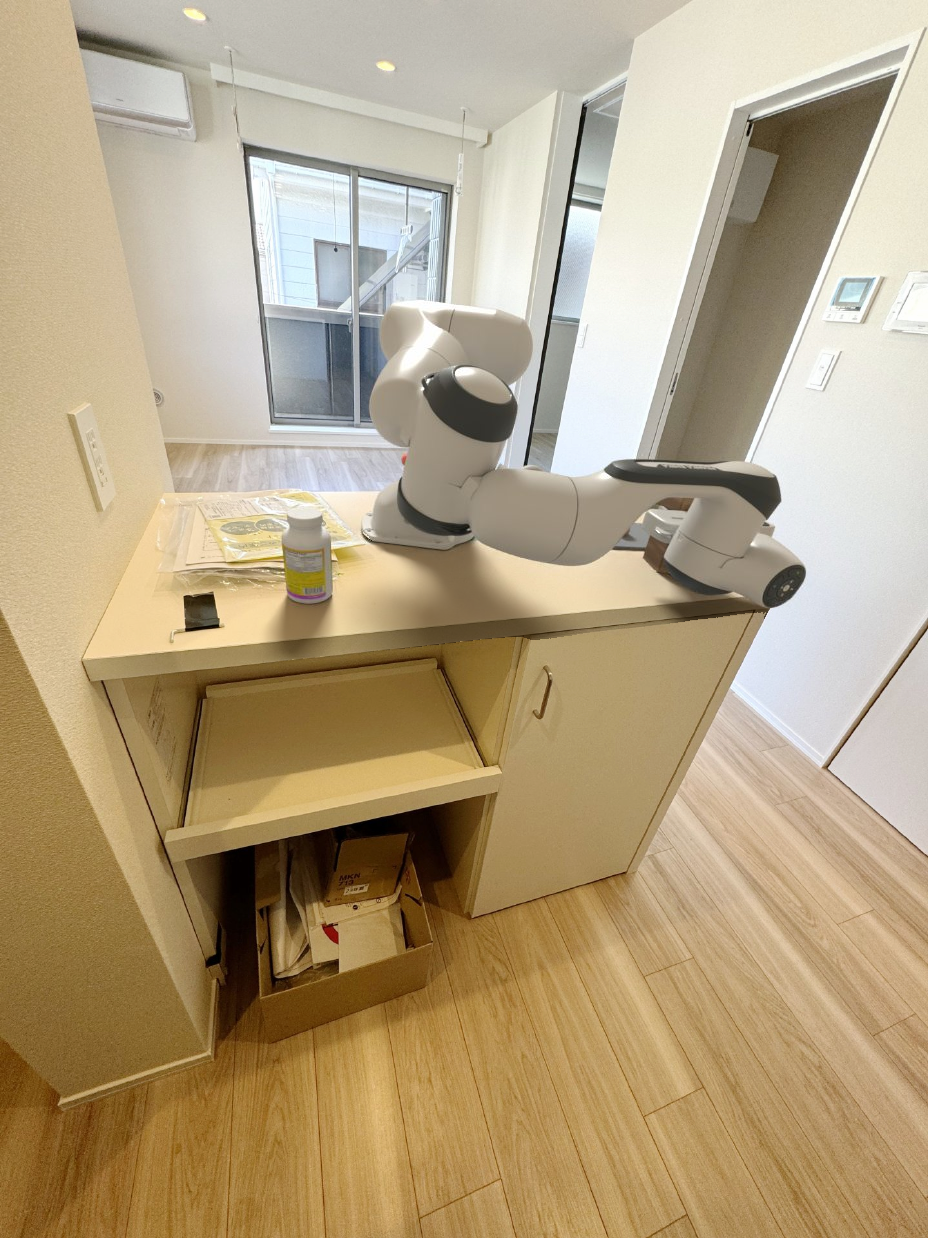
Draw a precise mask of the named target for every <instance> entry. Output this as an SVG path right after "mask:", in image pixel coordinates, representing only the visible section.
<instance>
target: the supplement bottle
mask: <svg viewBox="0 0 928 1238" xmlns="http://www.w3.org/2000/svg"><path fill="white" fill-rule="evenodd" d="M323 517H324V516H323V512H322V510H320V509H318V508H317V507H316V508H315V507H309V506H298V507H293V508H291V509H289V510H287V511H286V522H287V524H288V526H287V527H286V528H285V529H284V530H283V532H282V534H281V536H280V537H281V547H282V548H281V549H282V557H283V559H282V560H283V569H284V577H285V578H284V579H285V587H286V589H285V590H286V595H287V597H288V598H290V600H292V601H294V602H296V603H300V604H305V605H306V604H307V605H310V604H319V603H321V602H324V601H326V600H328V599H329V598H330V597H331V596H332V595H333V591H334V587H333V586H334V585H333V582H334V581H333V562H332V561H333V560H332V538H331V533H330V531H329V530H328V528H325V527H324V526H322V525H323V522H324V518H323Z"/></svg>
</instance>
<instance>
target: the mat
mask: <svg viewBox="0 0 928 1238" xmlns="http://www.w3.org/2000/svg"><path fill="white" fill-rule="evenodd" d="M642 523H643V522H642ZM642 523H641V522H635V523H634V524H633V525H632V526H631V529H630V532H629V533H628V534H627V535H626V536H623V537H622V538H621V539H620V541H619V542H618V543H617V544H616V545H615V547H614V548H612V549H611V550H614V549H615V550H632V551H633V550H635V551H645V549H646V546H647V543H648V540H649V537H650V534H648V533H647V532H645V531H644V530H643V529H642Z"/></svg>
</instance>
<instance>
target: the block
mask: <svg viewBox="0 0 928 1238" xmlns="http://www.w3.org/2000/svg"><path fill="white" fill-rule="evenodd" d="M694 499H695V498H678V497H669V498H665V499H663V500H660V501H659V502H660V503H659V506H668V507H669V508H670V509H671V510H677V511H688V510H689V508H690V506H691V504H692V502H693V501H694ZM659 506H658V507H659ZM668 546H669V543H664V542H661V541H659V540H657V539H655V538H654V537H652V536H651V535H650V537H649V540H648V543H647V546H646V549H645V550H644V552H643V556H642V559H643V560H644V561H645V562H646V563H648V565H649V566H650V567H652V569H653V571H655V572H656V573H662V574H664V573H666V574H669V572H668V570H667V568H666V566H665V563H664V558H663V556H664V555H665V552H666V550H667V548H668Z"/></svg>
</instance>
